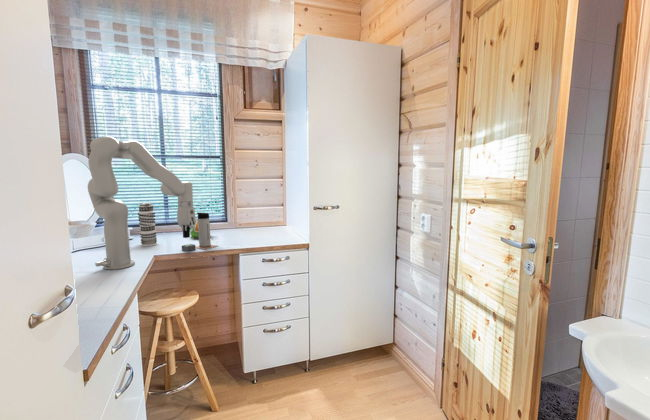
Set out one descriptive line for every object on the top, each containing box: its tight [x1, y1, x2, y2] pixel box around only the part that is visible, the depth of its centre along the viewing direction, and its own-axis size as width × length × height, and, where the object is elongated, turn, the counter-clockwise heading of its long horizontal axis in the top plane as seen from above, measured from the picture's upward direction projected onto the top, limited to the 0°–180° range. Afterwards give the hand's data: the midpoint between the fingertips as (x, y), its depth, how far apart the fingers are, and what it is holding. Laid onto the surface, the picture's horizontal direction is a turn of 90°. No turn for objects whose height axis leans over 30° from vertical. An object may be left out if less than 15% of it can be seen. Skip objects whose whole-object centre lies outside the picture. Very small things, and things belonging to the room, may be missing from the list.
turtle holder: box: [190, 218, 199, 240], centre depth 221 cm, size 12×18×12 cm
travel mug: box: [196, 212, 212, 248], centre depth 193 cm, size 6×7×20 cm
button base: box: [181, 243, 196, 253], centre depth 186 cm, size 5×5×3 cm
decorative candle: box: [137, 202, 158, 247], centre depth 199 cm, size 9×9×25 cm
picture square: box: [195, 244, 218, 251], centre depth 194 cm, size 10×10×1 cm
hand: (186, 237), depth 185 cm, fingers closed
